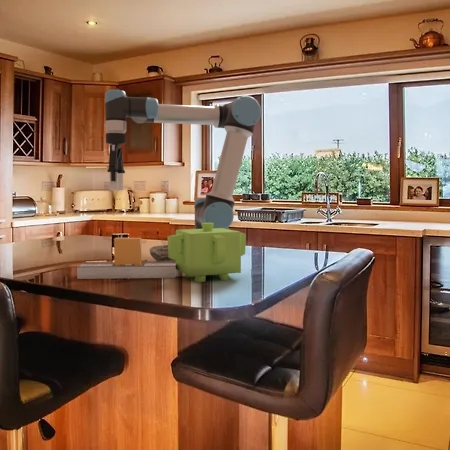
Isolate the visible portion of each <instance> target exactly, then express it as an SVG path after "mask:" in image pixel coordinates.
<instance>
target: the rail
mask: <svg viewBox="0 0 450 450" xmlns="http://www.w3.org/2000/svg"><path fill="white" fill-rule="evenodd" d="M76 275H77V276H76V277H77V278H76V279H78V280H81V279H82V280H83V279H84V280H86V279H88V280H91V279H96V280H97V279H99V280H100V279H101V280H102V279H107V280H110V279H176V277H177V269H176V262H159V261H141V266H134V264H123V266H115V261H111V262H110V261H105V262H104V261H101V262H99V261H95V262H93V261H91V262H89V261H87V262H83V261H82V263H81V264H80V265H77V266H76Z"/></svg>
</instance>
